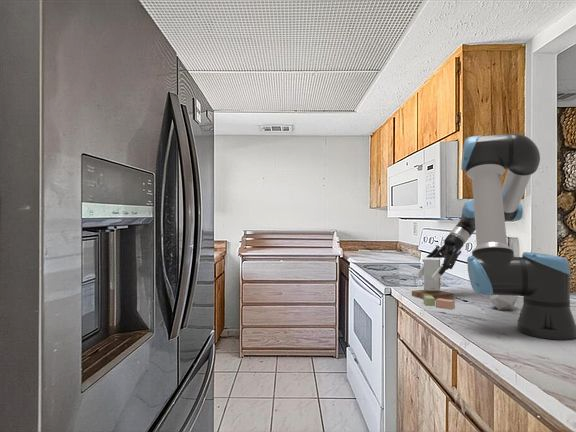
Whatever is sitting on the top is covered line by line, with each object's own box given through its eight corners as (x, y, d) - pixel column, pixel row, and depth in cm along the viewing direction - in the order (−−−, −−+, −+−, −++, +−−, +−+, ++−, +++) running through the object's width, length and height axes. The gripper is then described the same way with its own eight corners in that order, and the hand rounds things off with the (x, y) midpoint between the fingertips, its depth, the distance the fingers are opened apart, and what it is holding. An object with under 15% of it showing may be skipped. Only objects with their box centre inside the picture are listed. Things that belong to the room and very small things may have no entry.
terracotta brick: (454, 308, 152) (454, 300, 152) (451, 309, 150) (451, 301, 150) (439, 306, 156) (439, 298, 156) (435, 307, 154) (435, 299, 154)
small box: (439, 290, 168) (439, 259, 167) (423, 290, 170) (423, 259, 170) (440, 287, 175) (440, 257, 175) (425, 286, 177) (424, 257, 177)
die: (515, 314, 144) (524, 291, 147) (493, 301, 145) (502, 279, 148) (504, 317, 151) (512, 294, 154) (482, 305, 153) (491, 283, 156)
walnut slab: (453, 298, 168) (453, 293, 168) (428, 300, 165) (428, 295, 165) (435, 293, 180) (435, 288, 180) (411, 295, 176) (411, 290, 176)
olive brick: (435, 306, 156) (434, 298, 156) (427, 306, 156) (426, 298, 156) (431, 302, 162) (431, 295, 162) (423, 302, 162) (423, 295, 162)
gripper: (480, 247, 166) (449, 287, 162) (444, 243, 188) (415, 279, 183) (469, 234, 165) (437, 275, 160) (434, 232, 186) (405, 268, 182)
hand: (426, 277), depth 172 cm, fingers closed on small box, 10 cm apart
